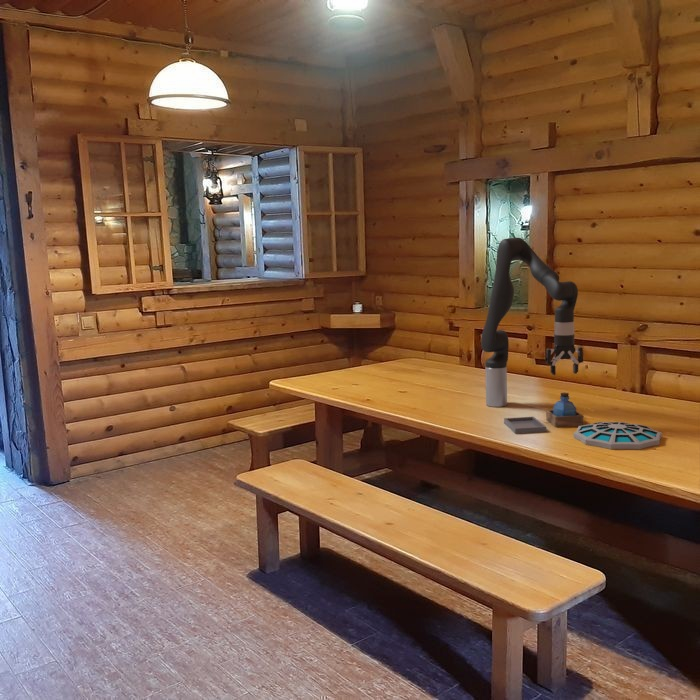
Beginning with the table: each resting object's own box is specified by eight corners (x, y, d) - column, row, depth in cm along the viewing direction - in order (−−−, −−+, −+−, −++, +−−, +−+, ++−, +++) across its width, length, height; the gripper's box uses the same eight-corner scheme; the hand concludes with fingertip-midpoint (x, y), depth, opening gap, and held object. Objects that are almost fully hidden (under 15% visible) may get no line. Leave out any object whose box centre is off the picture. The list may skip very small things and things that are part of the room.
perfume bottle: (553, 422, 290) (553, 393, 288) (565, 420, 292) (565, 391, 291) (563, 425, 284) (563, 395, 283) (576, 423, 287) (576, 393, 285)
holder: (546, 420, 294) (546, 410, 293) (573, 418, 294) (573, 408, 294) (555, 427, 283) (555, 417, 282) (583, 425, 283) (583, 415, 283)
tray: (504, 423, 292) (504, 418, 292) (533, 421, 293) (533, 416, 292) (515, 433, 276) (515, 428, 276) (546, 431, 277) (546, 426, 277)
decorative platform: (558, 440, 266) (558, 427, 265) (596, 423, 286) (596, 411, 286) (641, 456, 244) (641, 441, 244) (676, 436, 265) (676, 423, 264)
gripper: (578, 331, 287) (578, 371, 289) (543, 332, 286) (543, 373, 289) (585, 333, 279) (585, 374, 282) (549, 335, 279) (549, 377, 281)
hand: (564, 374), depth 285 cm, fingers open, 8 cm apart
